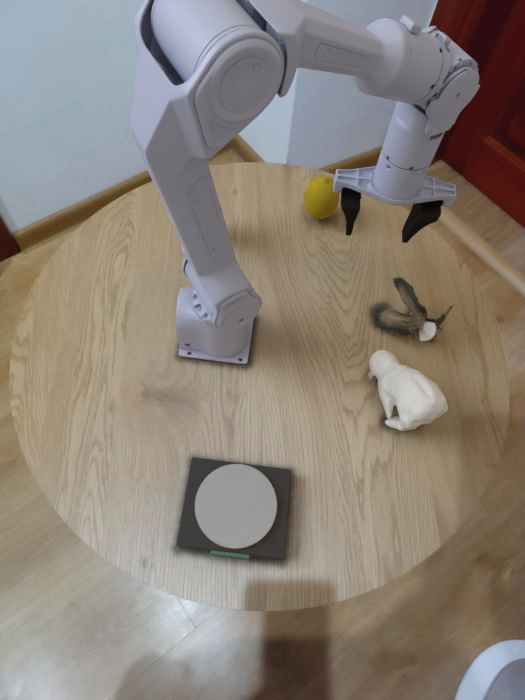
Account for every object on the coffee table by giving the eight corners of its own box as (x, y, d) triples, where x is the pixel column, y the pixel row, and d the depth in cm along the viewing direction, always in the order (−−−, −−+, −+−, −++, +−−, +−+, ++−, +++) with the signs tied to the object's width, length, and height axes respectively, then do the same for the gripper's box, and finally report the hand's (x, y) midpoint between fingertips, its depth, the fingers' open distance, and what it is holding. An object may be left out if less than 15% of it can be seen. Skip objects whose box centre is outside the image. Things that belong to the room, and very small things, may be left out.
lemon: (331, 232, 81) (341, 195, 74) (297, 225, 81) (304, 188, 74) (336, 206, 84) (346, 169, 76) (303, 200, 84) (310, 162, 77)
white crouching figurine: (416, 419, 57) (362, 339, 63) (397, 448, 64) (351, 373, 70) (461, 400, 59) (405, 323, 65) (438, 429, 66) (390, 358, 72)
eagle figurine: (445, 304, 74) (392, 275, 74) (462, 305, 67) (403, 272, 67) (418, 349, 75) (365, 320, 75) (432, 355, 68) (373, 323, 68)
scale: (177, 551, 58) (175, 548, 55) (193, 461, 62) (191, 455, 60) (281, 564, 58) (284, 561, 55) (289, 473, 62) (291, 467, 60)
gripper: (469, 136, 58) (428, 218, 70) (344, 120, 59) (325, 204, 71) (474, 180, 55) (430, 258, 67) (342, 163, 55) (322, 244, 67)
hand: (376, 233), depth 69 cm, fingers open, 7 cm apart
